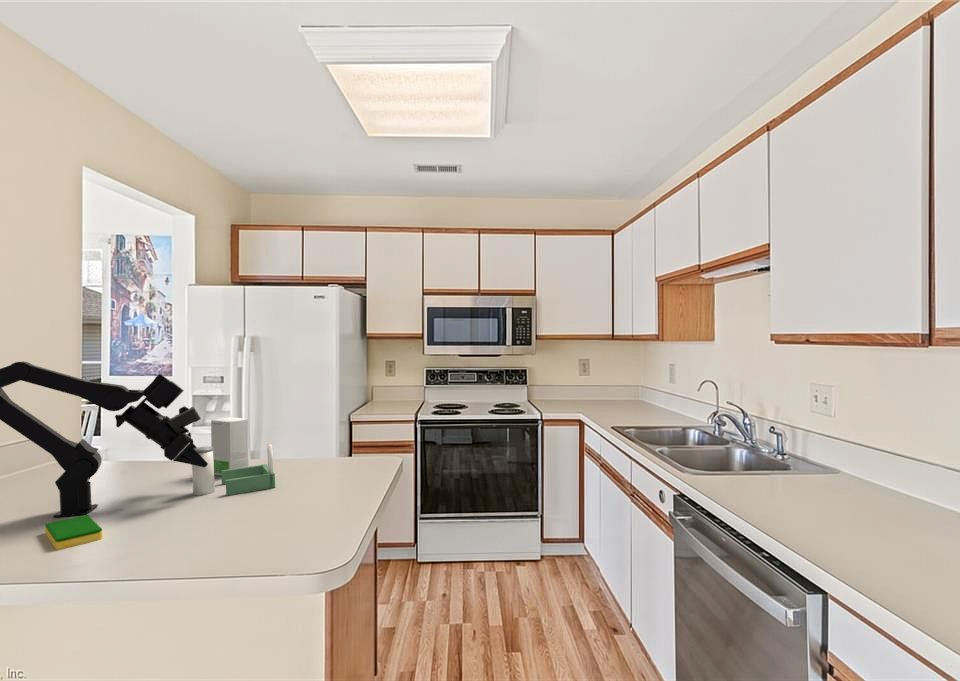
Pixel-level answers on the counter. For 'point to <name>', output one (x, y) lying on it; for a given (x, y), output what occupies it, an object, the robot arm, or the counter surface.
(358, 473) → the counter surface
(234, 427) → the skincare box
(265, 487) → the green u-shaped bracket
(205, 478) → the ball tube
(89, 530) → the dish sponge
